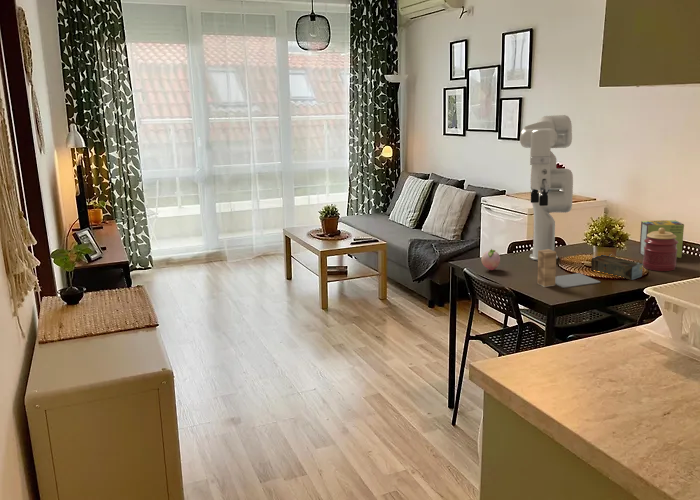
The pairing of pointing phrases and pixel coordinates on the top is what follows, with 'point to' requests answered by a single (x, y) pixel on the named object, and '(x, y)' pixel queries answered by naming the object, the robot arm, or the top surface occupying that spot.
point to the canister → (660, 251)
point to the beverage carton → (617, 266)
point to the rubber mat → (574, 280)
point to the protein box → (669, 226)
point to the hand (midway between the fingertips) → (539, 204)
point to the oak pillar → (546, 268)
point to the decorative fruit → (491, 259)
